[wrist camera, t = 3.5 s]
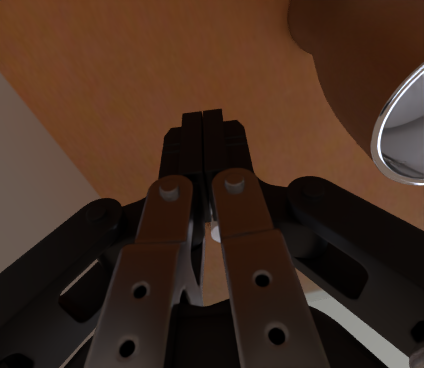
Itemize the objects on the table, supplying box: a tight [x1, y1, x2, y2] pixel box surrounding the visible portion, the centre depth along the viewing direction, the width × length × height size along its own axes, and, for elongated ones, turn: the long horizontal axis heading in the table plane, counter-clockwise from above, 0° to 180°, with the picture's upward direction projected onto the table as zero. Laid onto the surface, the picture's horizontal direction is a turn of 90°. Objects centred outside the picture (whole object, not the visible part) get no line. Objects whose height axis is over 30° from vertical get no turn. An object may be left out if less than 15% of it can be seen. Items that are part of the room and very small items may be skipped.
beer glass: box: [288, 0, 424, 185], centre depth 16 cm, size 7×7×15 cm
